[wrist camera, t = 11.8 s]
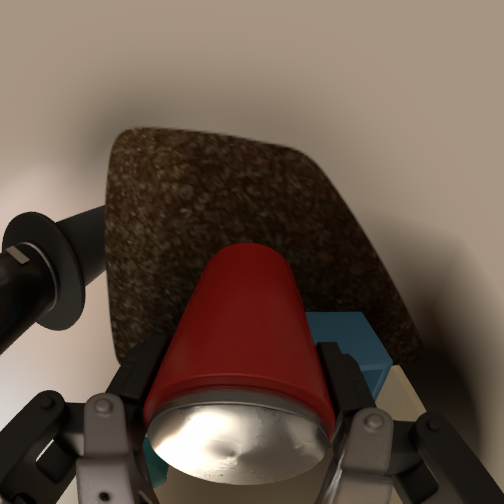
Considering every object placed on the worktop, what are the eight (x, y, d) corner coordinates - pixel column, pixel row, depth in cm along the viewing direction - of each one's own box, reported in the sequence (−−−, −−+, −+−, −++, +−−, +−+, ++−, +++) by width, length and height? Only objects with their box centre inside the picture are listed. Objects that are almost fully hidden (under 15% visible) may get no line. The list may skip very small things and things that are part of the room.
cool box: (226, 394, 31) (220, 448, 23) (225, 308, 27) (214, 365, 19) (336, 393, 31) (351, 444, 23) (361, 311, 27) (393, 361, 19)
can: (203, 323, 17) (158, 476, 7) (200, 240, 15) (111, 375, 5) (289, 327, 17) (315, 485, 7) (299, 244, 15) (368, 390, 5)
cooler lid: (375, 559, 8) (431, 537, 8) (466, 520, 4) (524, 476, 4) (349, 447, 22) (395, 438, 22) (391, 365, 18) (444, 356, 18)
